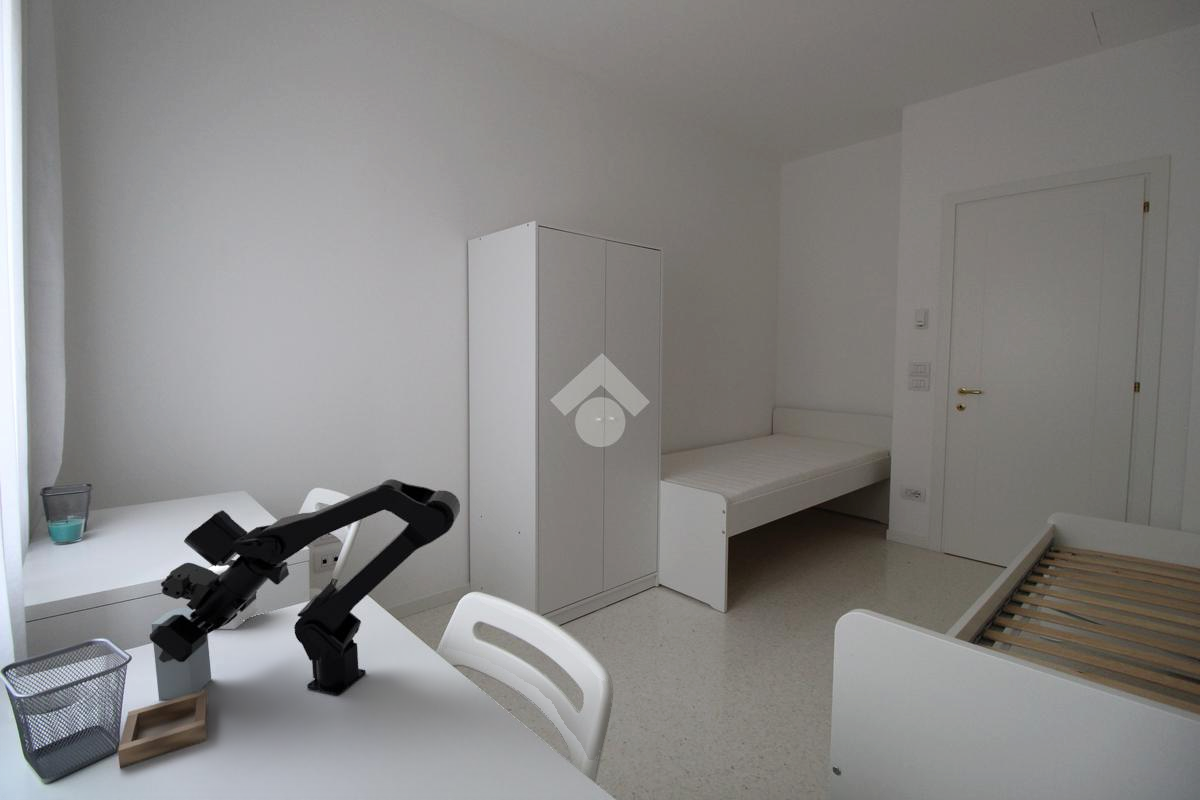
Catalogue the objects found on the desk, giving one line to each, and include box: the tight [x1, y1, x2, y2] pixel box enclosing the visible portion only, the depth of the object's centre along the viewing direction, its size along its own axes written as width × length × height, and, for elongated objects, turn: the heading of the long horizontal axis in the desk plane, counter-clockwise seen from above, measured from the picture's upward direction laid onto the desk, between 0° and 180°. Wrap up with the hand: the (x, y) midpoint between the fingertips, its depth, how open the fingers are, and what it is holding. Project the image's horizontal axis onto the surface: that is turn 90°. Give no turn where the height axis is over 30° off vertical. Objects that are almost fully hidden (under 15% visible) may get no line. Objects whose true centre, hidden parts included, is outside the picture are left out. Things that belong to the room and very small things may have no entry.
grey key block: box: [151, 607, 212, 700], centre depth 91 cm, size 5×5×12 cm
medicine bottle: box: [207, 559, 258, 630], centre depth 113 cm, size 7×7×12 cm
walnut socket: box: [117, 689, 209, 769], centre depth 81 cm, size 9×9×2 cm
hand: (173, 650), depth 91 cm, fingers closed on grey key block, 5 cm apart
